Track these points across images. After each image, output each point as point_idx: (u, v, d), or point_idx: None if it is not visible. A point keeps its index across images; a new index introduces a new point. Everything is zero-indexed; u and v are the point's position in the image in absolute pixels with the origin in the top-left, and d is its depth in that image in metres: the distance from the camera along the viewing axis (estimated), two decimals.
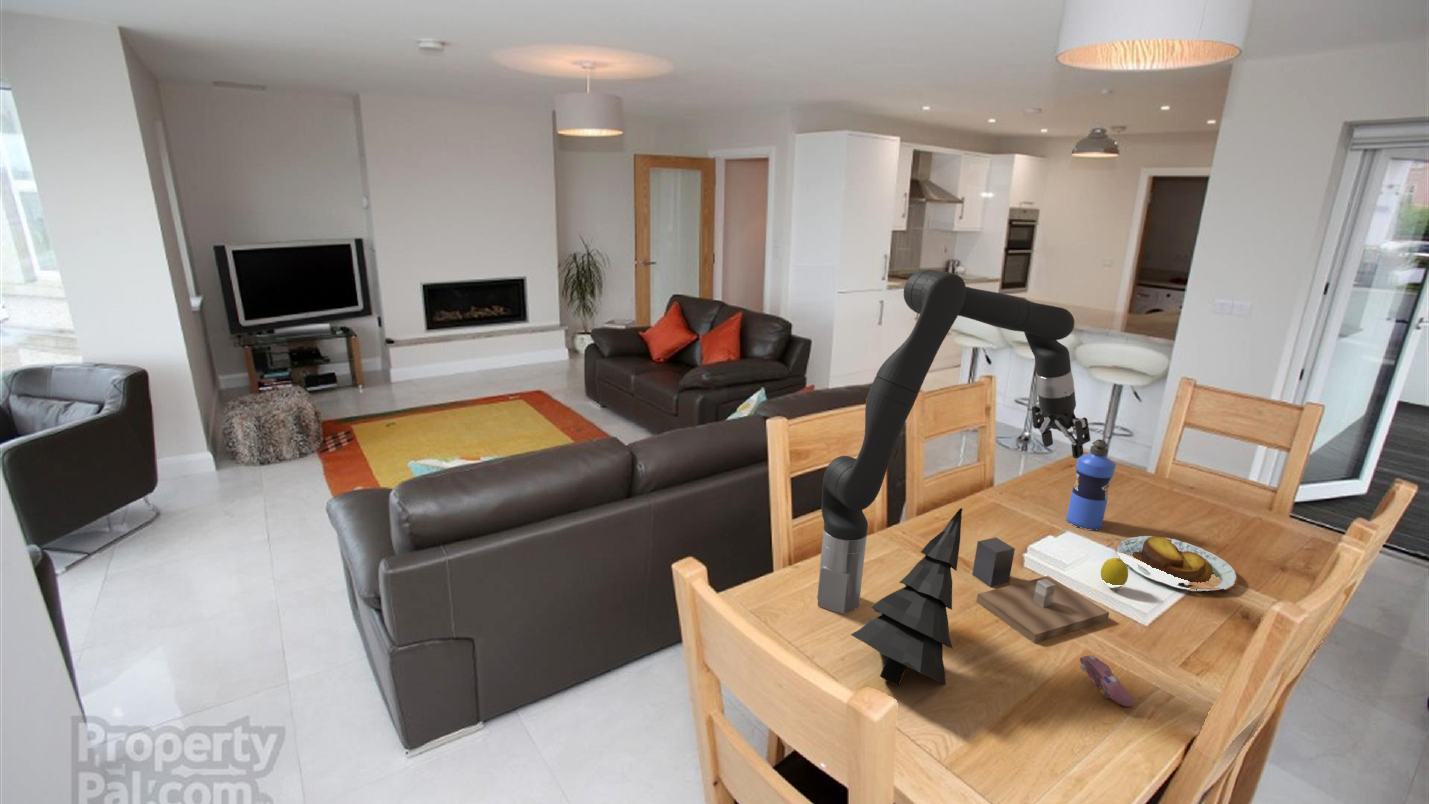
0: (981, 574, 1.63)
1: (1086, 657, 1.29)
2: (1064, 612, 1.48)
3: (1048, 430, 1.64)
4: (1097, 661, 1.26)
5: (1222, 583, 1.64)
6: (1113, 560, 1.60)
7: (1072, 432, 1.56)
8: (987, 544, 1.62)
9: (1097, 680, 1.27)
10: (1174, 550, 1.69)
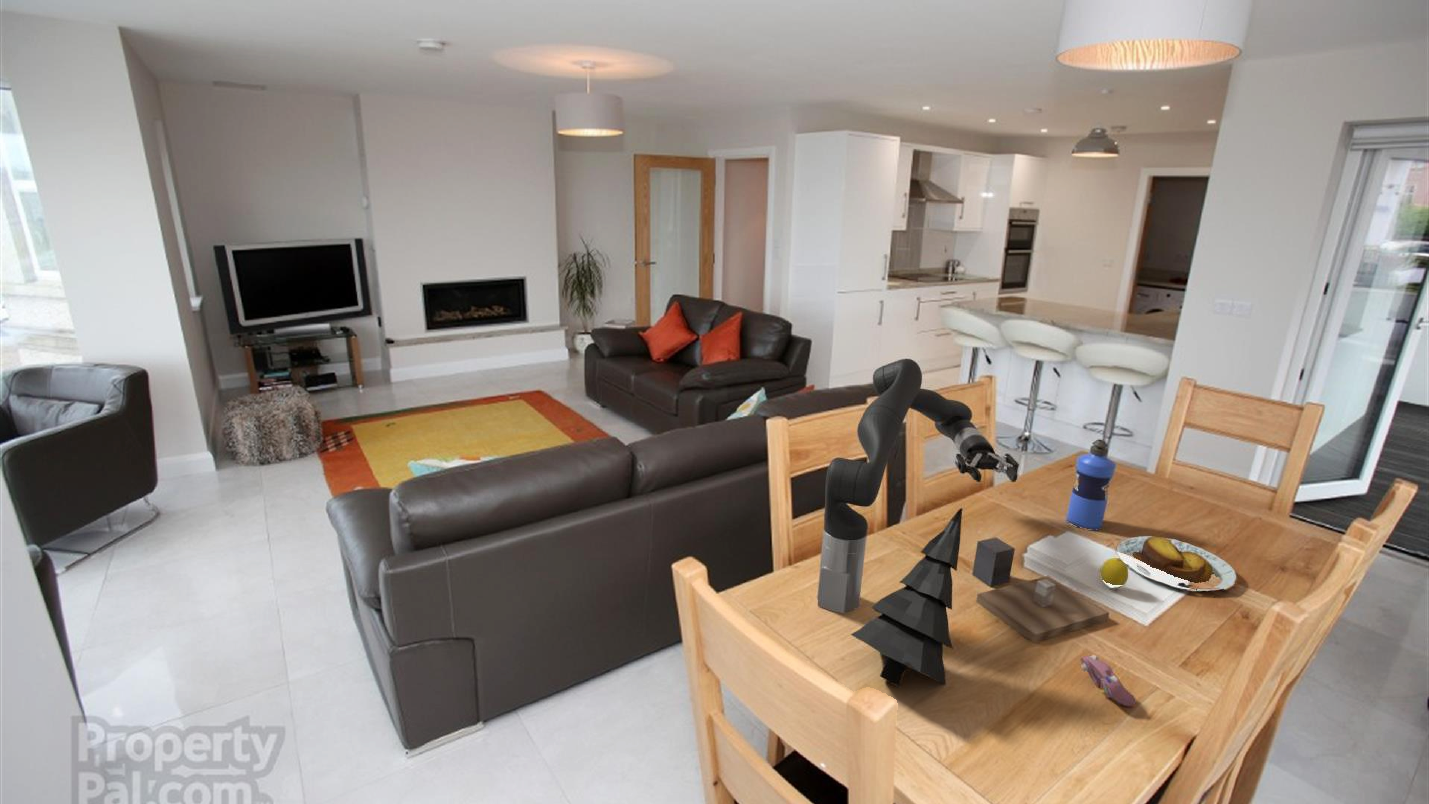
0: (981, 574, 1.63)
1: (1087, 657, 1.29)
2: (1064, 612, 1.48)
3: None
4: (1098, 661, 1.26)
5: (1222, 583, 1.64)
6: (1113, 560, 1.60)
7: None
8: (987, 544, 1.62)
9: (1098, 680, 1.27)
10: (1174, 550, 1.69)
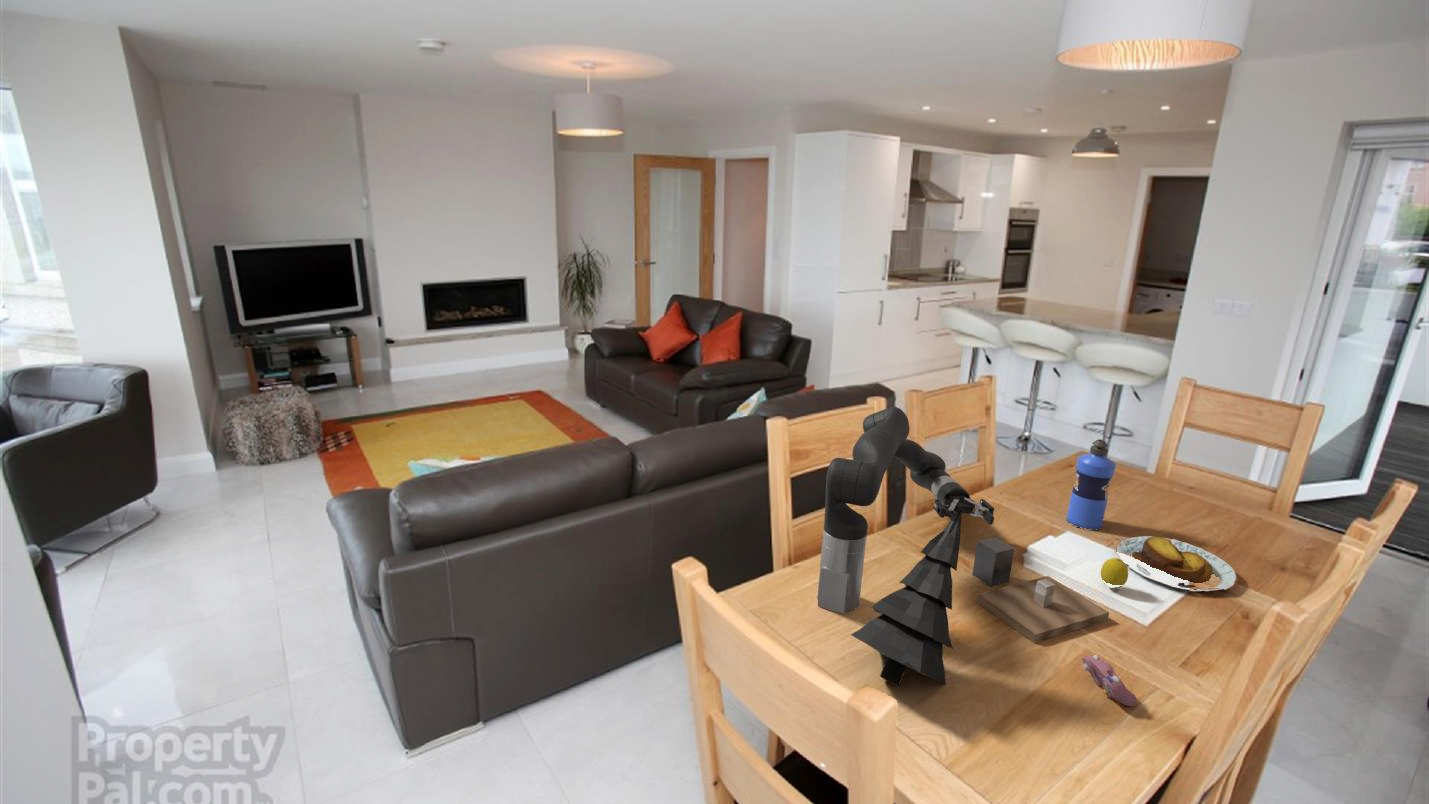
0: (981, 574, 1.63)
1: (1089, 657, 1.29)
2: (1064, 612, 1.48)
3: None
4: (1100, 661, 1.26)
5: (1222, 583, 1.64)
6: (1113, 560, 1.60)
7: None
8: (987, 544, 1.62)
9: (1100, 680, 1.27)
10: (1174, 550, 1.69)
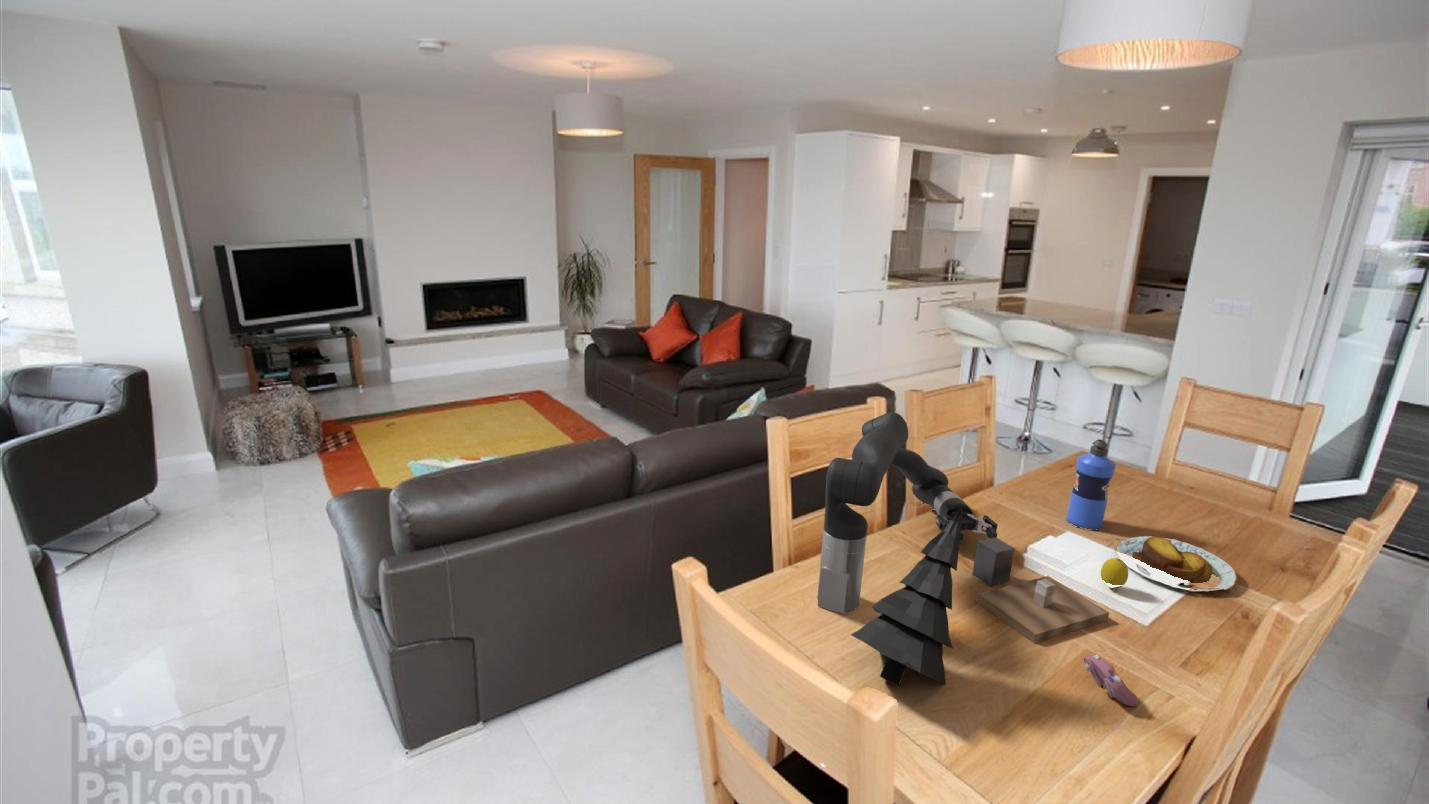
0: (981, 574, 1.63)
1: (1090, 657, 1.29)
2: (1064, 612, 1.48)
3: None
4: (1101, 661, 1.26)
5: (1222, 583, 1.64)
6: (1113, 560, 1.60)
7: None
8: (987, 544, 1.62)
9: (1101, 680, 1.27)
10: (1174, 550, 1.69)
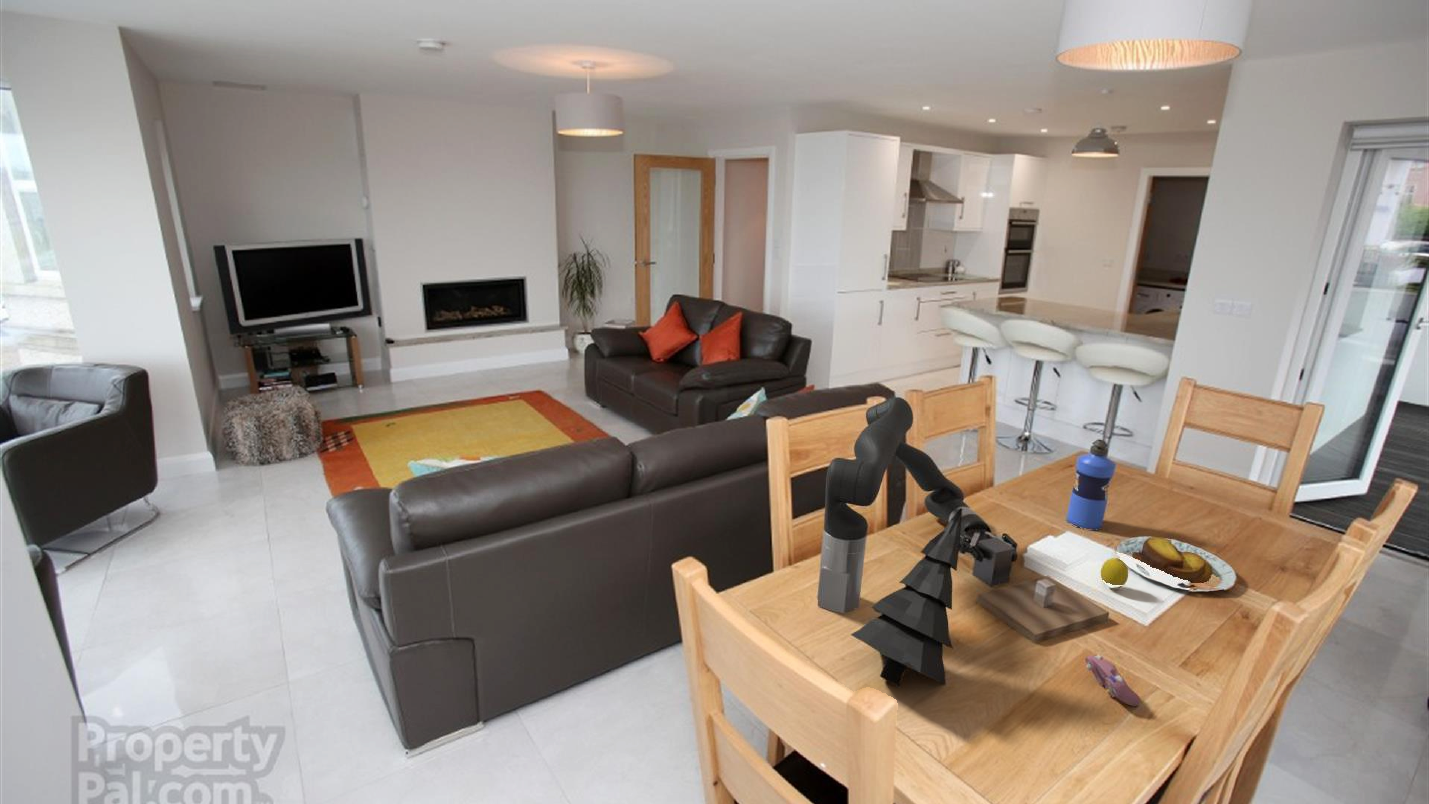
0: (981, 574, 1.63)
1: (1092, 657, 1.29)
2: (1064, 612, 1.48)
3: None
4: (1103, 661, 1.26)
5: (1222, 583, 1.64)
6: (1113, 560, 1.60)
7: None
8: (987, 544, 1.62)
9: (1103, 680, 1.27)
10: (1174, 550, 1.68)
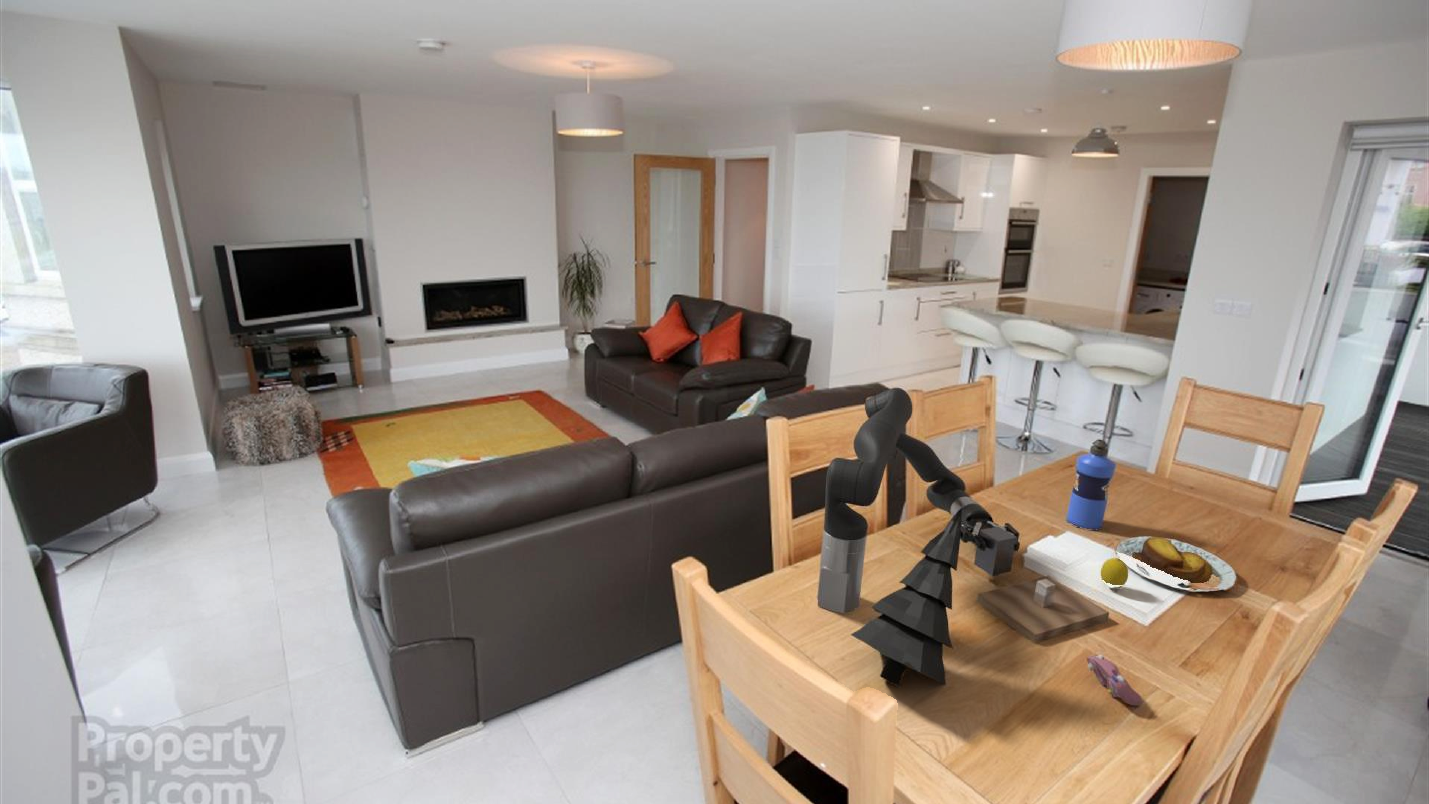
0: (983, 563, 1.61)
1: (1093, 657, 1.29)
2: (1064, 612, 1.48)
3: None
4: (1104, 660, 1.27)
5: (1222, 583, 1.63)
6: (1113, 560, 1.60)
7: None
8: (989, 532, 1.61)
9: (1104, 679, 1.27)
10: (1174, 550, 1.68)
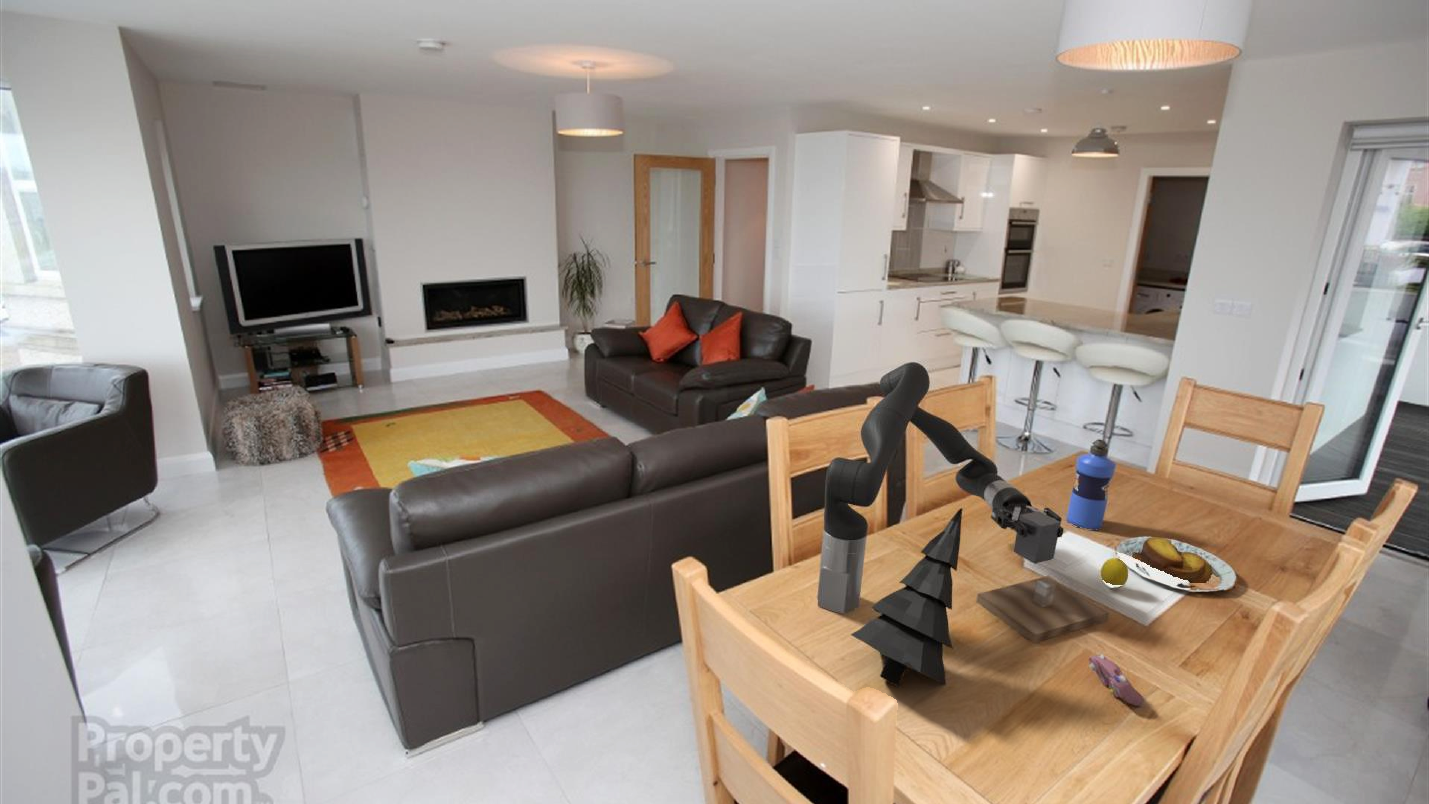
0: (1024, 550, 1.51)
1: (1095, 656, 1.29)
2: (1064, 612, 1.48)
3: None
4: (1106, 660, 1.27)
5: (1222, 584, 1.63)
6: (1113, 560, 1.60)
7: None
8: (1031, 517, 1.50)
9: (1106, 679, 1.27)
10: (1174, 551, 1.68)
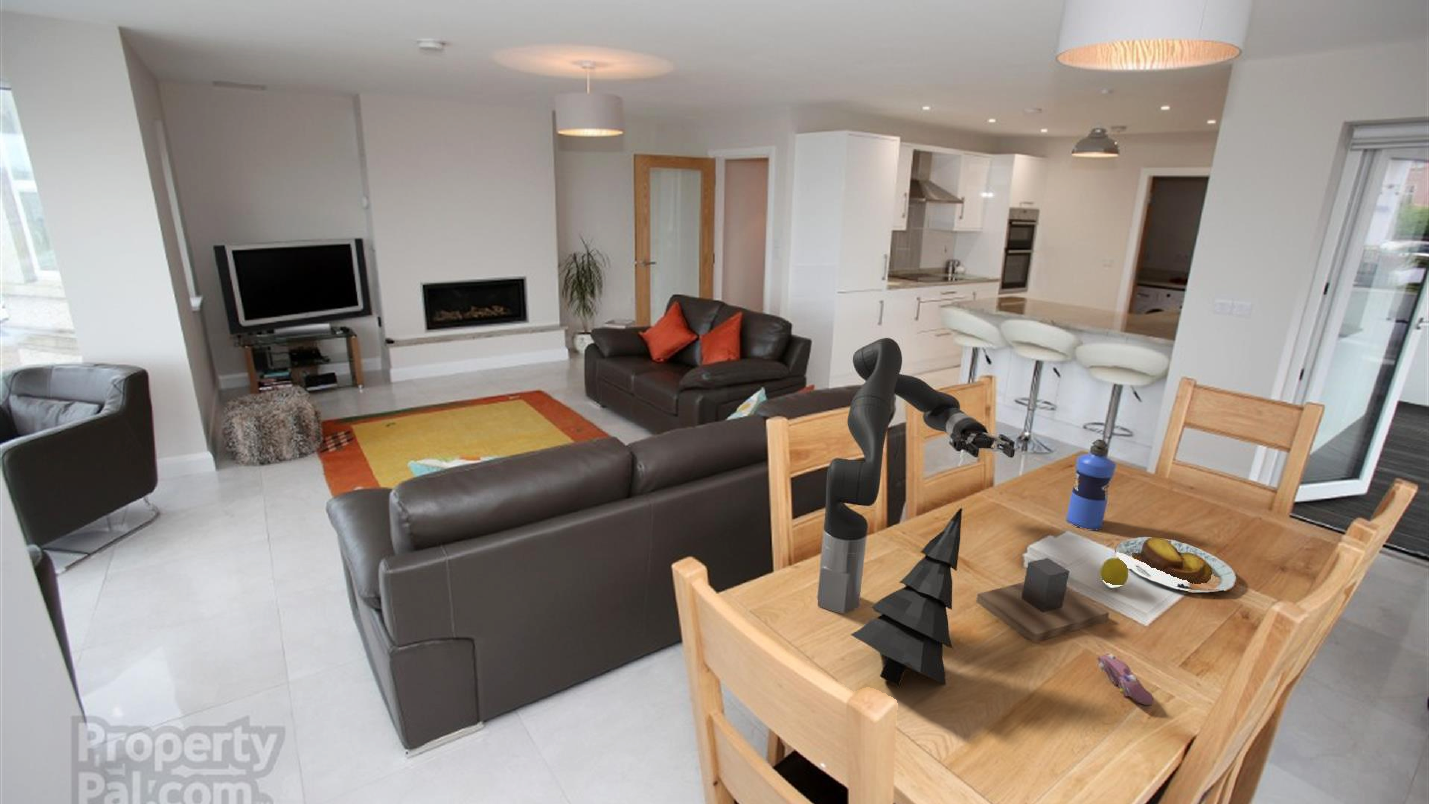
0: (1032, 598, 1.50)
1: (1104, 656, 1.29)
2: (1064, 612, 1.48)
3: None
4: (1116, 660, 1.27)
5: (1222, 584, 1.63)
6: (1113, 560, 1.60)
7: None
8: (1039, 565, 1.49)
9: (1116, 679, 1.28)
10: (1173, 551, 1.68)
